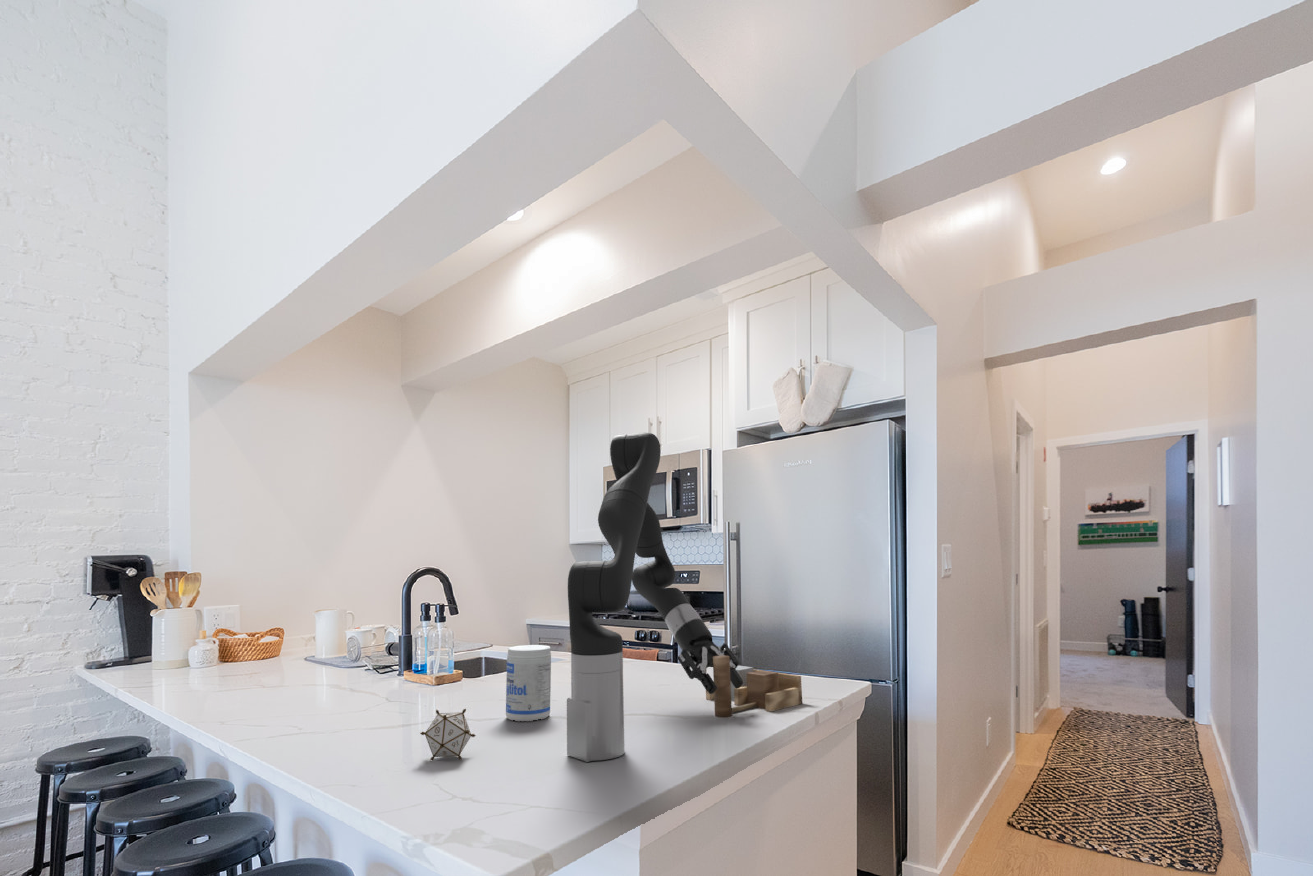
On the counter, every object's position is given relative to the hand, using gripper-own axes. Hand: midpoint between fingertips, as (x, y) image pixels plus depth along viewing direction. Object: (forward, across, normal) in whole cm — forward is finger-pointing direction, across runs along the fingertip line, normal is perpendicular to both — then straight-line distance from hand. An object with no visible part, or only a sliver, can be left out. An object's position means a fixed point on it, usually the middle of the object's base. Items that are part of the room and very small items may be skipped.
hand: (727, 688), depth 149 cm
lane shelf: (0, +15, +8) cm, 17 cm away
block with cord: (+3, +7, +5) cm, 9 cm away
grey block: (-3, +15, +12) cm, 19 cm away
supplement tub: (-18, -30, +26) cm, 43 cm away
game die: (-6, -56, +14) cm, 58 cm away
